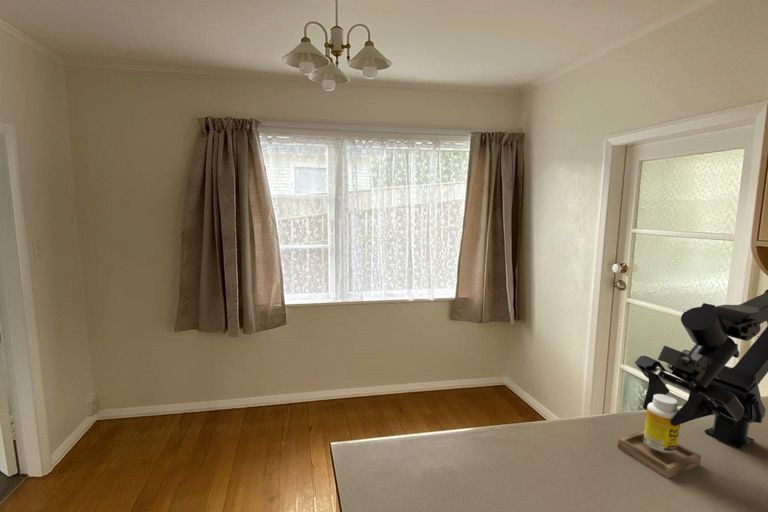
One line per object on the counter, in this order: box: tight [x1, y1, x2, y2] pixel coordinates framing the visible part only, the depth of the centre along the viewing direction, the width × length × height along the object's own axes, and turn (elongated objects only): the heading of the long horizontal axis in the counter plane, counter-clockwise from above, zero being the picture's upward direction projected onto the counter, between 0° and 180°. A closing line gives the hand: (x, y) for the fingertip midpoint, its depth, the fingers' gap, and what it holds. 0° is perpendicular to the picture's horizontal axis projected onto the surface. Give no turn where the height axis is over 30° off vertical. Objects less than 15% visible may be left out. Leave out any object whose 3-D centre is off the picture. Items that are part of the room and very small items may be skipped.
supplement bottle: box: [644, 394, 681, 453], centre depth 79 cm, size 6×6×10 cm
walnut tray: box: [617, 429, 702, 479], centre depth 79 cm, size 10×10×2 cm
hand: (657, 416), depth 78 cm, fingers closed on supplement bottle, 5 cm apart
